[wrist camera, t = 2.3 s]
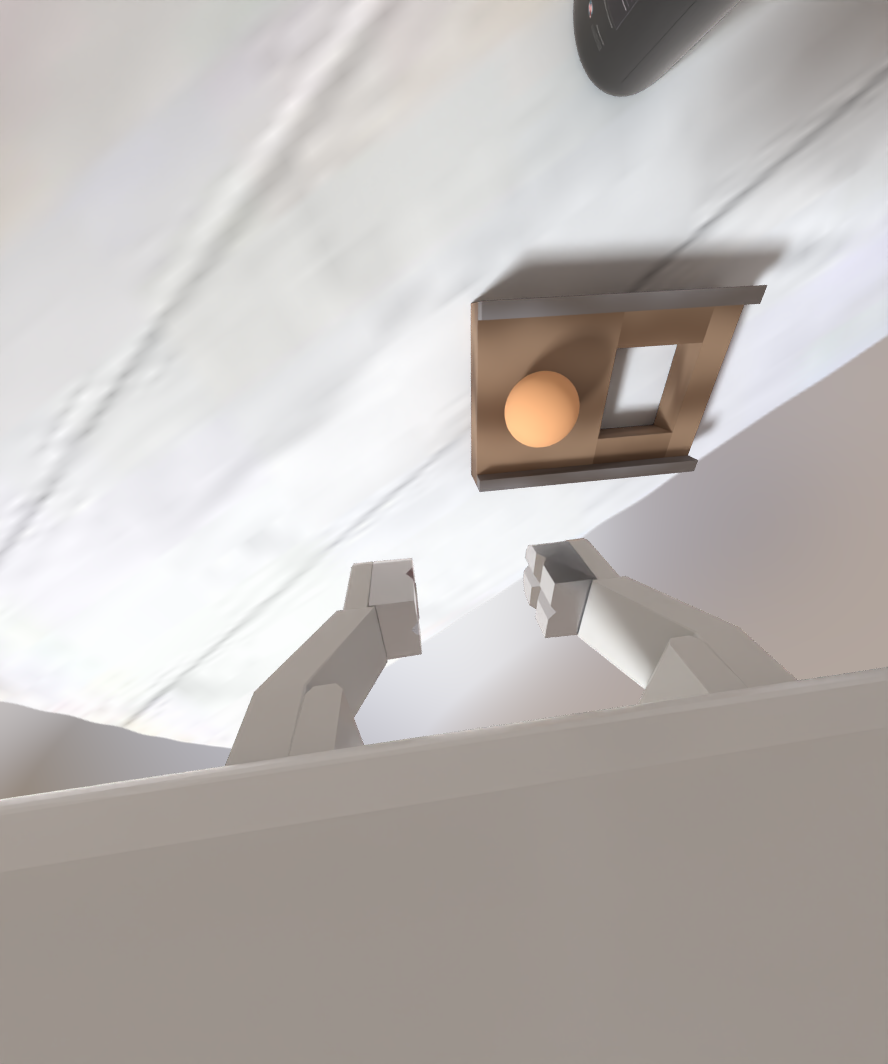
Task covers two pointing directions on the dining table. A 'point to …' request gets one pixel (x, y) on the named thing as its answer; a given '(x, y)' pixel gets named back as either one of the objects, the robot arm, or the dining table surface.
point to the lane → (596, 379)
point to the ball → (542, 409)
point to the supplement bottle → (639, 38)
